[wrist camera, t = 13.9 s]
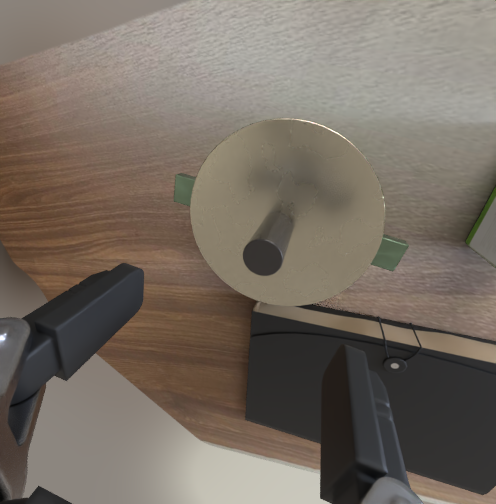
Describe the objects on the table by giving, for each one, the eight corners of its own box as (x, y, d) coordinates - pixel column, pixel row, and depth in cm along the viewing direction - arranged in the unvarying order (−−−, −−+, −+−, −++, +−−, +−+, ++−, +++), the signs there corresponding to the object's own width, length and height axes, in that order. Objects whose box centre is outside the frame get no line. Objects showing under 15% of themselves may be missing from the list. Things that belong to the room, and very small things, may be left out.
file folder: (605, 388, 23) (480, 503, 34) (567, 352, 26) (465, 467, 37) (251, 311, 30) (244, 427, 41) (258, 292, 33) (250, 403, 44)
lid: (209, 96, 18) (153, 79, 12) (425, 150, 16) (484, 161, 10) (187, 267, 25) (145, 309, 19) (335, 320, 23) (338, 385, 17)
